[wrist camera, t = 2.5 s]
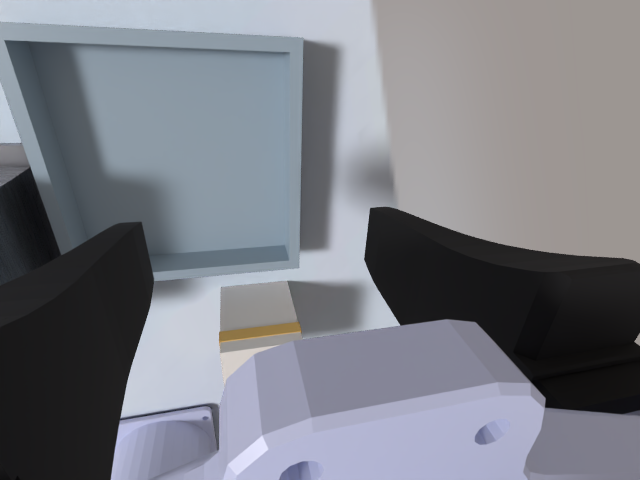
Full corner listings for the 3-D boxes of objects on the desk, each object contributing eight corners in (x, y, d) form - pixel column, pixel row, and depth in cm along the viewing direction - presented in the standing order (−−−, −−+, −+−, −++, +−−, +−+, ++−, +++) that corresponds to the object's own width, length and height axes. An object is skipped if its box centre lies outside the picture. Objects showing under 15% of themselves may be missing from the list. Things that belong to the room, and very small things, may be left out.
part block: (287, 329, 27) (302, 395, 22) (225, 337, 26) (226, 409, 21) (287, 279, 25) (304, 340, 20) (219, 286, 24) (219, 352, 19)
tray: (292, 247, 24) (299, 268, 22) (88, 263, 21) (73, 288, 19) (293, 37, 18) (303, 37, 16) (12, 23, 15) (-22, 20, 13)
